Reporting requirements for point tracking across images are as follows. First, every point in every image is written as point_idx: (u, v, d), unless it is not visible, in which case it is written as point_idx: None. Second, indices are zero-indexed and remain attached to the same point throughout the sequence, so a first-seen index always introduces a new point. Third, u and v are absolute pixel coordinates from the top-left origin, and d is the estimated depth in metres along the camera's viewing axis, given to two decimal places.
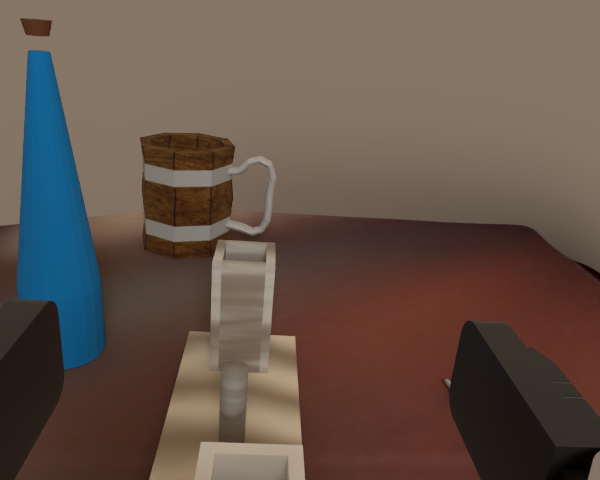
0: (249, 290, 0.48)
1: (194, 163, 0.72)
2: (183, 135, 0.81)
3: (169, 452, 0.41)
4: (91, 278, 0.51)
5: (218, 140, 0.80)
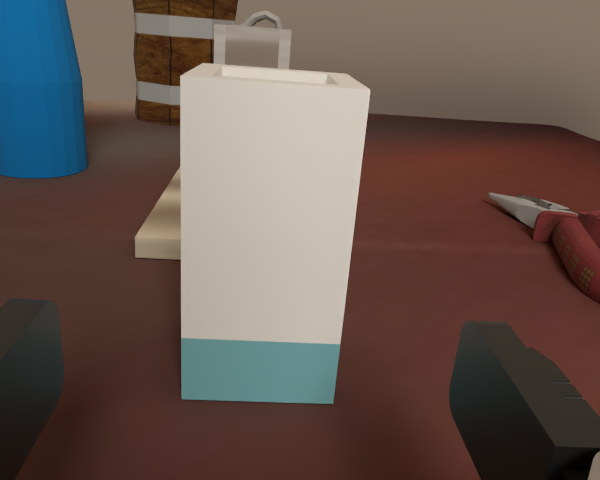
0: (259, 64, 0.39)
1: (192, 8, 0.64)
2: None
3: (162, 220, 0.33)
4: (69, 65, 0.42)
5: None
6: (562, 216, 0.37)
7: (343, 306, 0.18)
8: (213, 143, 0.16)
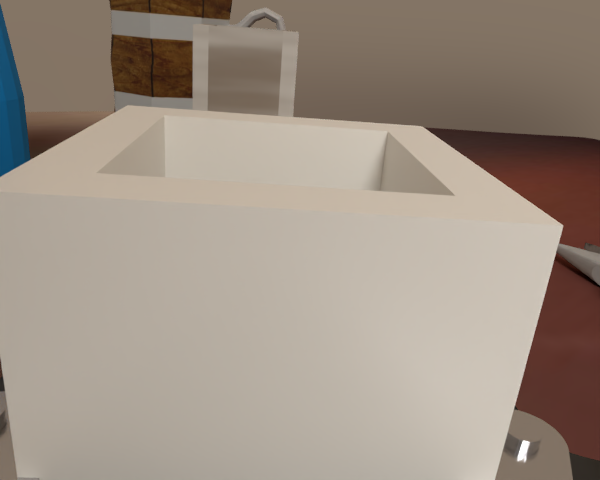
0: (255, 79, 0.29)
1: (177, 4, 0.53)
2: None
3: None
4: (1, 78, 0.32)
5: None
6: None
7: None
8: (99, 369, 0.06)
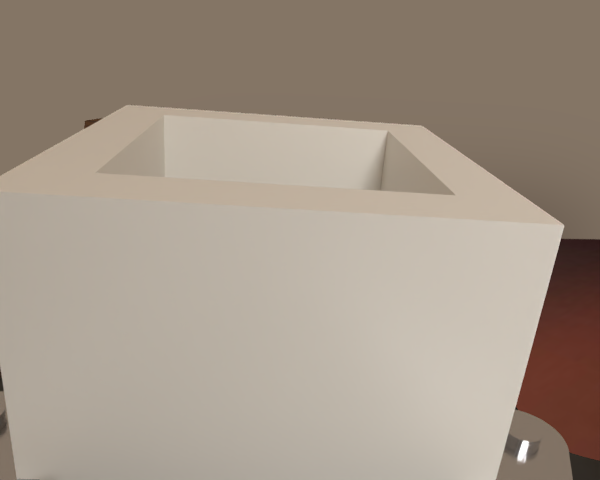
0: None
1: None
2: None
3: None
4: None
5: None
6: None
7: None
8: (97, 370, 0.06)
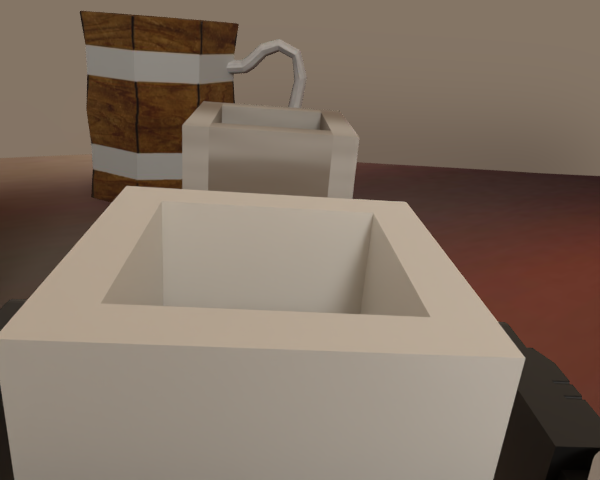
0: None
1: (169, 39, 0.42)
2: (155, 17, 0.51)
3: None
4: None
5: None
6: None
7: None
8: None
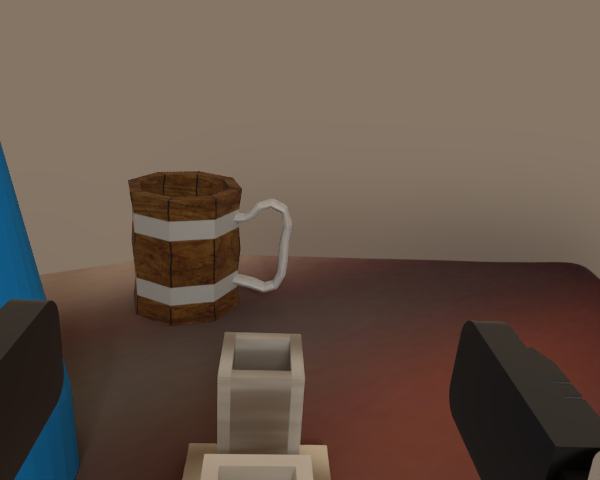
0: (269, 410, 0.35)
1: (193, 212, 0.59)
2: (180, 174, 0.69)
3: None
4: None
5: (221, 180, 0.68)
6: None
7: None
8: None
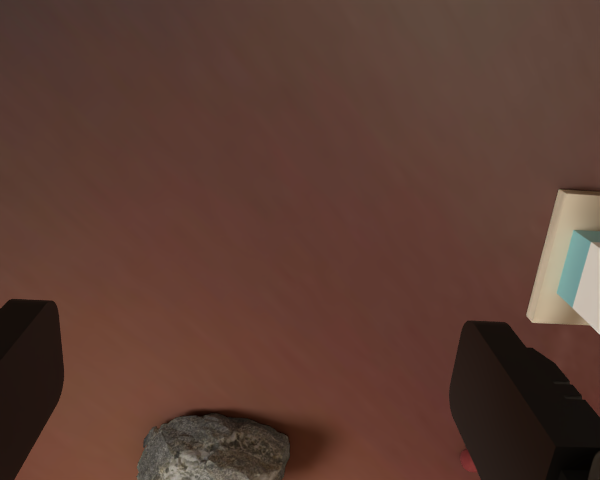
0: None
1: None
2: None
3: (599, 208, 0.41)
4: None
5: None
6: None
7: (582, 317, 0.40)
8: None
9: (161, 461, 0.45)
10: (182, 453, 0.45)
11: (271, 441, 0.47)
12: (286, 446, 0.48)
